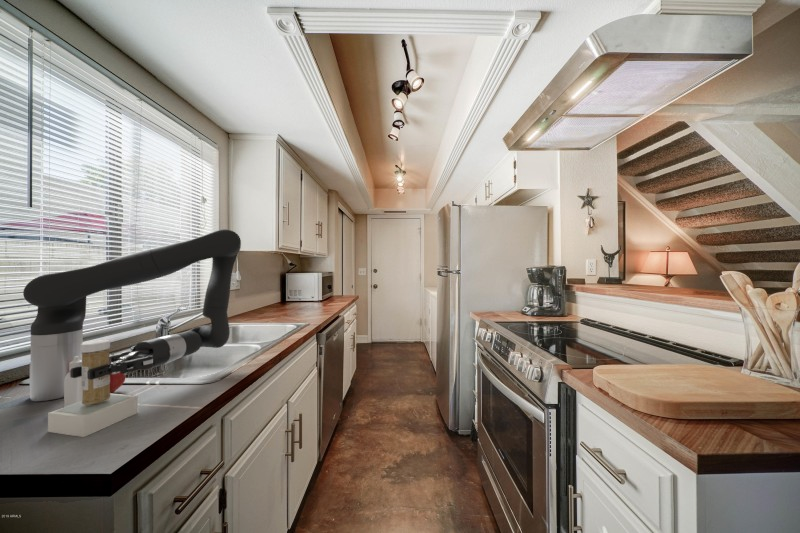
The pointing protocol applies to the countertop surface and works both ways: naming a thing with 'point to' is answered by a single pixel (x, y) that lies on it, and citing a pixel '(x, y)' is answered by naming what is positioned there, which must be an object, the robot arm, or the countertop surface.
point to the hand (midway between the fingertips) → (80, 374)
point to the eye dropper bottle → (73, 385)
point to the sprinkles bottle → (91, 358)
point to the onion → (116, 381)
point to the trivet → (92, 415)
